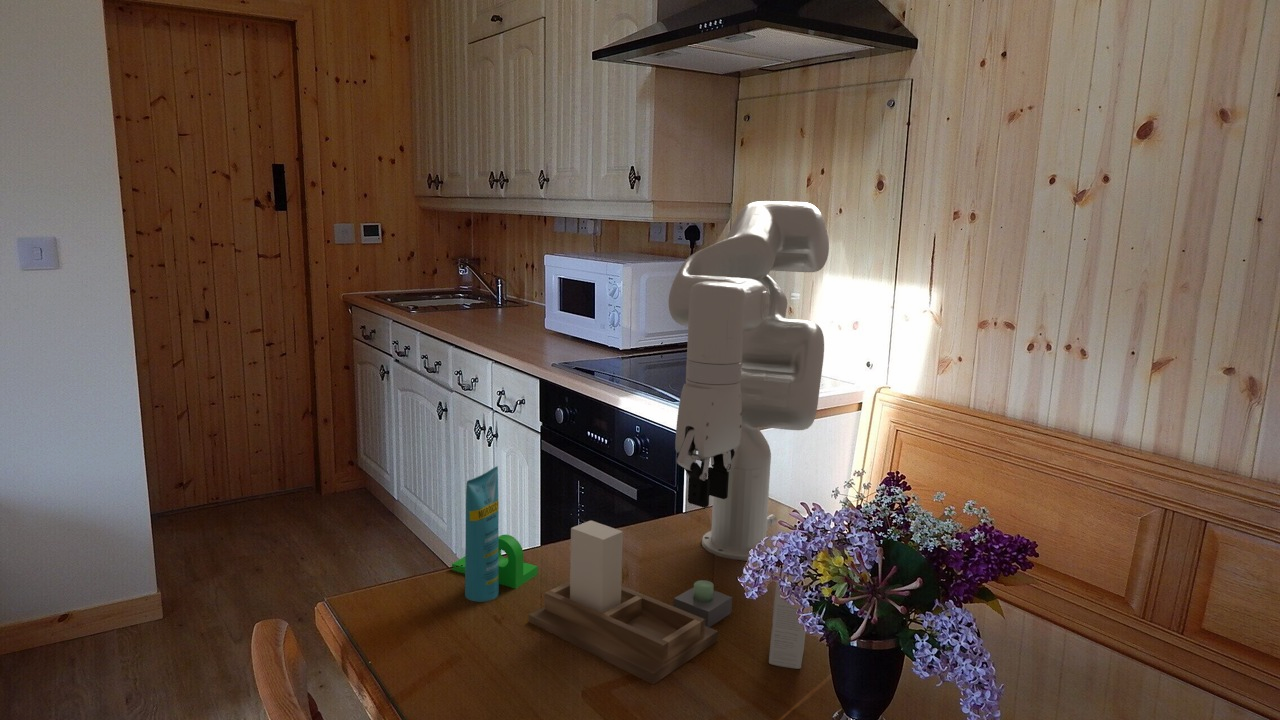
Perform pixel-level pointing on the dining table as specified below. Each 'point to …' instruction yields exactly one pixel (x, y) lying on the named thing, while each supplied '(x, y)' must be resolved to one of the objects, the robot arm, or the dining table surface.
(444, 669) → the dining table surface
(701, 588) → the button
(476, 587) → the tube
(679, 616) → the wooden compartment tray
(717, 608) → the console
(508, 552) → the mechanical part
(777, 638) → the skincare box
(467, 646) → the dining table surface
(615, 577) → the billet
